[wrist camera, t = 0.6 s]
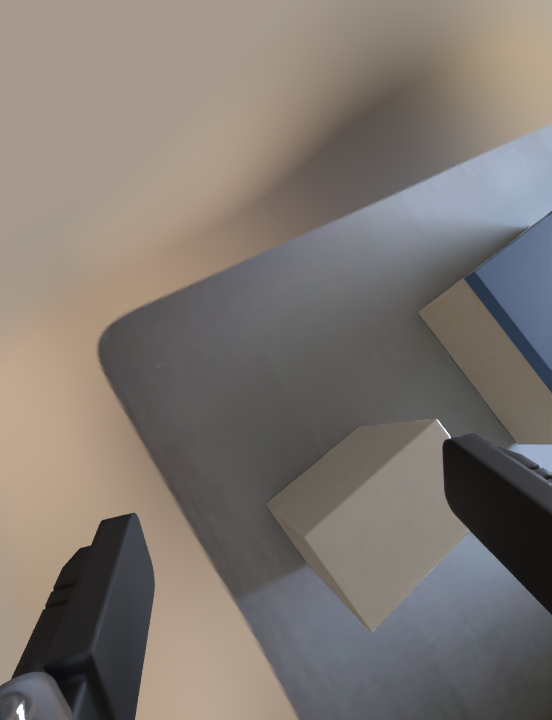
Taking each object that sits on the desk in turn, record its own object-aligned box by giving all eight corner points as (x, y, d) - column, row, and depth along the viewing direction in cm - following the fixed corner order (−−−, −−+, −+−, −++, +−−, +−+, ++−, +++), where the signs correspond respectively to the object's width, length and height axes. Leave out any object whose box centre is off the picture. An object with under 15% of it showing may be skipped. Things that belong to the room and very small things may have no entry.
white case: (264, 504, 24) (302, 537, 16) (358, 426, 27) (437, 418, 18) (309, 566, 24) (371, 633, 16) (400, 482, 26) (499, 501, 18)
